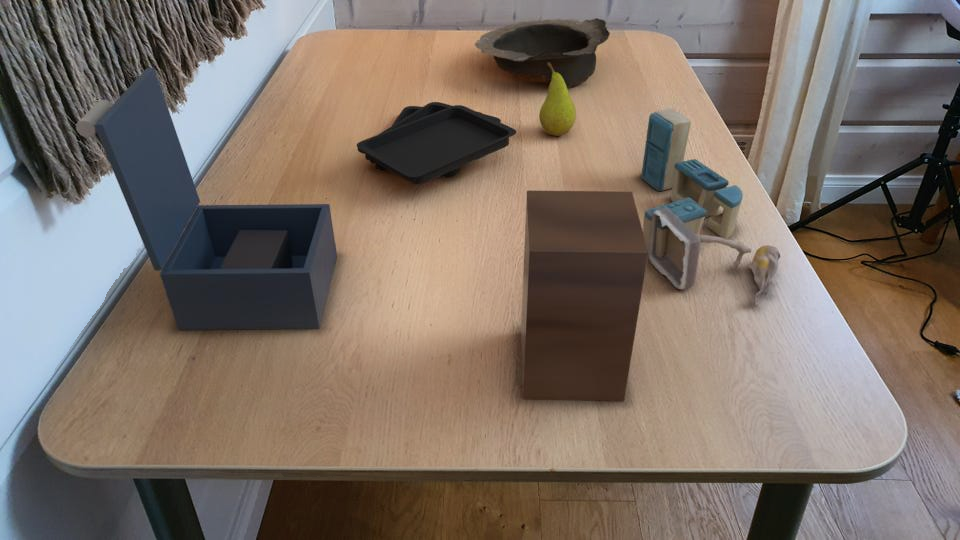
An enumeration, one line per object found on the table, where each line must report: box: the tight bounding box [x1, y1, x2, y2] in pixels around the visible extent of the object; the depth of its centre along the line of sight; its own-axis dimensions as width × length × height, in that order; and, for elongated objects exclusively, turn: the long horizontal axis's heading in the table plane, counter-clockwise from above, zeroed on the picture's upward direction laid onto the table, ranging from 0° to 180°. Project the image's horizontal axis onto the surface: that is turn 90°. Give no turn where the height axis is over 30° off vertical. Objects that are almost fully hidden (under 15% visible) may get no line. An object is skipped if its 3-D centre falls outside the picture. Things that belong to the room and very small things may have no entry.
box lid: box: [75, 67, 201, 271], centre depth 77 cm, size 16×14×5 cm
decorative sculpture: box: [648, 208, 781, 306], centre depth 85 cm, size 16×10×7 cm, turn 86°
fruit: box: [538, 62, 577, 137], centre depth 116 cm, size 6×6×12 cm
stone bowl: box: [474, 17, 611, 90], centre depth 137 cm, size 25×25×9 cm
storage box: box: [159, 203, 338, 331], centre depth 84 cm, size 16×14×8 cm
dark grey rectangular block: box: [220, 230, 293, 269], centre depth 85 cm, size 9×6×5 cm, turn 178°
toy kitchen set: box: [640, 107, 744, 257], centre depth 97 cm, size 18×14×11 cm
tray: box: [356, 101, 517, 185], centre depth 111 cm, size 30×23×5 cm
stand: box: [520, 189, 649, 402], centre depth 71 cm, size 10×10×18 cm
